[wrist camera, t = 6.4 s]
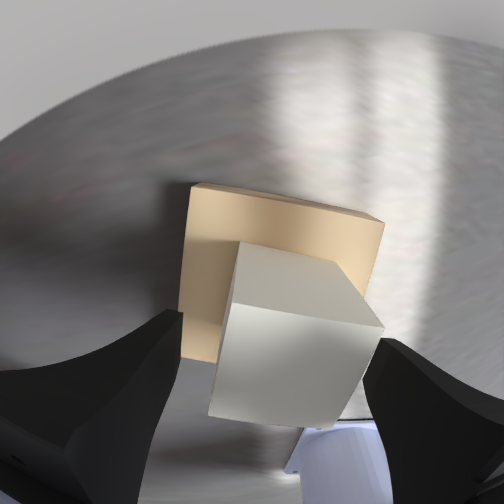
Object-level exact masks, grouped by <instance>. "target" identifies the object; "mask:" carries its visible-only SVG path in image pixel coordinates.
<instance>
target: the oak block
mask: <svg viewBox="0 0 504 504" xmlns="http://www.w3.org/2000/svg"><path fill="white" fill-rule="evenodd" d="M384 227H385V223H384V222H382V221H380V220H378V219H376V218H374V217H373V216H371V215H369V214H367V213H363V212H358V211H354V210H349V209H345V208H340V207H336V206H331V205H326V204H322V203H317V202H312V201H307V200H302V199H297V198H292V197H286V196H281V195H276V194H270V193H265V192H259V191H253V190H247V189H241V188H235V187H229V186H223V185H217V184H210V183H203V182H201V183H198V184H196V185H194V186H192V187H191V193H190V201H189V208H188V216H187V224H186V232H185V241H184V250H183V260H182V270H181V281H180V292H179V305H178V312H184V314H183V327H182V343H181V357H185V358H190V359H195V360H201V361H207V362H212V363H216V360H217V354H218V348H219V342H220V336H221V330H222V325H223V320H224V315H225V310H226V305H227V301H228V296H229V291H230V286H231V282H232V277H233V272H234V268H235V263H236V258H237V254H238V249H239V244H240V241H241V242H246V243H251V244H255V245H260V246H265V247H269V248H274V249H279V250H284V251H288V252H293V253H297V254H302V255H307V256H311V257H316V258H321V259H325V260H330V261H334V262H336V263H337V264H338V266H339V267H340V268H341V270H342V271H343V272H344V273H345V275H346V276H347V277H348V279H349V280H350V281H351V283H352V284H353V285H354V286H355V288H356V289H357V290H358V292H359V293H360V294H361V296H362V297H363V298H364V295H365V292H366V289H367V286H368V283H369V280H370V276H371V273H372V270H373V267H374V263H375V260H376V256H377V253H378V249H379V246H380V242H381V238H382V234H383V231H384Z"/></svg>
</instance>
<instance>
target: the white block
mask: <svg viewBox="0 0 504 504" xmlns="http://www.w3.org/2000/svg"><path fill="white" fill-rule="evenodd" d="M384 329H385V327H384V326H383V324H382V323H381V322H380V320H379V319H378V317H377V316H376V315H375V313H374V312H373V311H372V309H371V308H370V306H369V305H368V304H367V302H366V301H365V300H364V298H363V297H362V296H361V294H360V293H359V292H358V290H357V289H356V288H355V286H354V285H353V284H352V283H351V281H350V280H349V279H348V277H347V276H346V275H345V273H344V272H343V271H342V270H341V268H340V267H339V266H338V264H337V263H336V262H334V261H330V260H325V259H321V258H316V257H311V256H307V255H302V254H297V253H293V252H288V251H284V250H279V249H274V248H269V247H265V246H260V245H255V244H251V243H246V242H241V241H240V244H239V249H238V254H237V258H236V263H235V268H234V272H233V277H232V282H231V286H230V291H229V296H228V301H227V305H226V310H225V315H224V320H223V325H222V330H221V336H220V342H219V348H218V354H217V360H216V366H215V373H214V379H213V385H212V391H211V398H210V404H209V411H208V416H213V417H219V418H225V419H231V420H237V421H244V422H252V423H259V424H268V425H278V426H289V427H303V428H323V429H332V428H333V427H334V425H335V423H336V422H337V420H338V418H339V417H340V415H341V413H342V412H343V410H344V408H345V406H346V405H347V403H348V401H349V399H350V398H351V396H352V394H353V392H354V390H355V389H356V387H357V385H358V383H359V381H360V379H361V377H362V375H363V373H364V371H365V369H366V367H367V365H368V363H369V361H370V359H371V357H372V355H373V353H374V351H375V349H376V347H377V345H378V343H379V340H380V338H381V336H382V334H383V332H384Z"/></svg>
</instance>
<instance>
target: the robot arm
mask: <svg viewBox="0 0 504 504" xmlns="http://www.w3.org/2000/svg"><path fill="white" fill-rule="evenodd" d="M183 314H184V312H178V311H173V310H168V309H166V310H164V311H163V312H161V313H160V314H158V315H157V316H155V317H154V318H152V319H151V320H149V321H148V322H147V323H145V324H144V325H142V326H140V327H139V328H137V329H136V330H134V331H133V332H131V333H129V334H127V335H126V336H124V337H122V338H120V339H118V340H117V341H115V342H113V343H111V344H109V345H107V346H105V347H103V348H100V349H98V350H96V351H93V352H91V353H88V354H86V355H83V356H80V357H77V358H73V359H70V360H67V361H63V362H60V363H56V364H52V365H47V366H42V367H36V368H30V369H22V370H7V371H0V504H137V502H138V497H139V492H140V487H141V482H142V478H143V473H144V469H145V465H146V460H147V456H148V452H149V449H150V445H151V441H152V438H153V435H154V432H155V429H156V427H157V424H158V422H159V419H160V417H161V414H162V412H163V409H164V407H165V405H166V402H167V400H168V397H169V395H170V392H171V390H172V387H173V385H174V382H175V379H176V375H177V371H178V367H179V364H180V360H181V343H182V327H183ZM362 380H363V385H364V390H365V395H366V399H367V403H368V406H369V408H370V411H371V414H372V416H373V419H374V420H366V421H337V422H336V423H335V425H334V427H333V428H332V429H323V428H304V430H303V432H302V434H301V436H300V439H299V441H298V443H297V445H296V447H295V449H294V451H293V453H292V455H291V457H290V459H289V461H288V463H287V465H286V467H285V469H284V472H285V473H286V474H300V481H301V489H302V498H303V504H504V400H502V399H499V398H496V397H493V396H491V395H488V394H486V393H483V392H481V391H479V390H477V389H475V388H473V387H471V386H469V385H467V384H465V383H463V382H461V381H459V380H458V379H456V378H454V377H453V376H451V375H449V374H448V373H446V372H445V371H443V370H442V369H440V368H439V367H437V366H436V365H434V364H433V363H431V362H430V361H428V360H427V359H425V358H424V357H422V356H421V355H420V354H418V353H417V352H415V351H414V350H412V349H411V348H409V347H408V346H406V345H405V344H403V343H401V342H400V341H398V340H396V339H392V338H380V340H379V343H378V345H377V347H376V350H375V352H374V355H373V357H372V359H371V362H370V364H369V366H368V368H367V371H366V373H365V375H364V377H363V379H362Z"/></svg>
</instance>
